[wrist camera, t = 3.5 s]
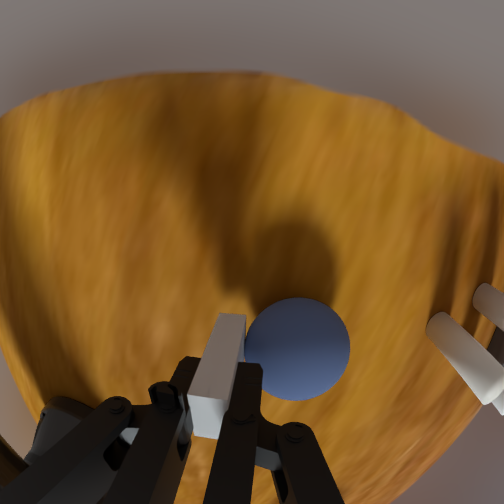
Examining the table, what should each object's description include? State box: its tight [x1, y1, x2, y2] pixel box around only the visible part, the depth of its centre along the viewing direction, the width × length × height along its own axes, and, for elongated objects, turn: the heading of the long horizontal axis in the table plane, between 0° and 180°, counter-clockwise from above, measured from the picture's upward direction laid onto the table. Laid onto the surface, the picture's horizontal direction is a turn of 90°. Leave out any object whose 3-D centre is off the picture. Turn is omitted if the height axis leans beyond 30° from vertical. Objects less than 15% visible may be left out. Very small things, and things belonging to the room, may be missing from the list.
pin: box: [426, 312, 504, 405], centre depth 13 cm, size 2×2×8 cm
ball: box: [244, 297, 350, 401], centre depth 15 cm, size 6×6×6 cm
